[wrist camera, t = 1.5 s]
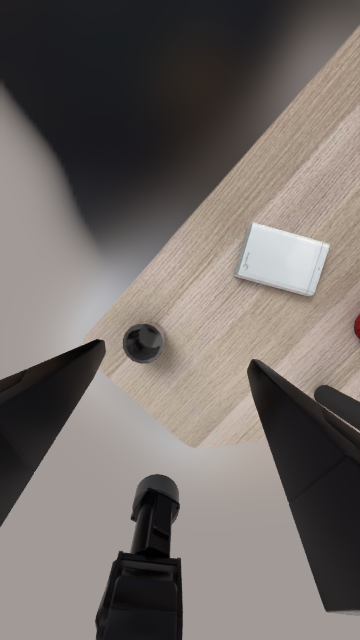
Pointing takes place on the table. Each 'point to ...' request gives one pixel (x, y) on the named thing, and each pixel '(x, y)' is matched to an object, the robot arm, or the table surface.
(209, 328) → the table surface
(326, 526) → the robot arm
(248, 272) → the hard drive
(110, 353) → the table surface
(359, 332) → the plastic cup
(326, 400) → the orange-capped black cylinder
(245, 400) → the table surface
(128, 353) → the socket
